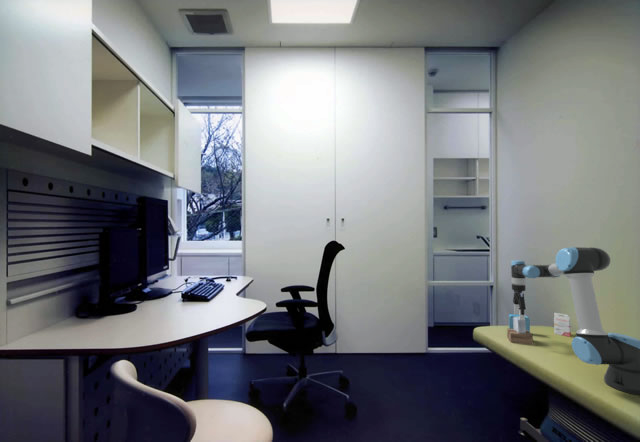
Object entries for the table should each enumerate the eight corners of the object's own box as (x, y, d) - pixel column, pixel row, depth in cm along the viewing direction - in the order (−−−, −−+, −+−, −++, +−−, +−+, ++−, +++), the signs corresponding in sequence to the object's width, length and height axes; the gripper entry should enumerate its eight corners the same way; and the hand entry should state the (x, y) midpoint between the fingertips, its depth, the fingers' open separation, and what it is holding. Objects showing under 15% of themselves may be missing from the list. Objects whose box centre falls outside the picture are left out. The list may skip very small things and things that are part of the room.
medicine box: (526, 333, 195) (525, 320, 195) (518, 333, 196) (517, 319, 196) (520, 329, 203) (520, 316, 203) (513, 329, 204) (513, 316, 204)
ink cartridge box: (571, 335, 209) (570, 313, 210) (569, 337, 206) (569, 315, 206) (555, 332, 216) (555, 311, 216) (554, 333, 212) (553, 312, 213)
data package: (529, 333, 214) (529, 316, 214) (530, 335, 210) (529, 317, 210) (509, 330, 220) (508, 313, 220) (509, 332, 216) (509, 315, 216)
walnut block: (532, 344, 192) (532, 335, 192) (510, 342, 196) (510, 333, 197) (528, 339, 202) (527, 330, 202) (507, 337, 206) (507, 328, 206)
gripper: (507, 281, 213) (508, 311, 212) (516, 287, 190) (517, 321, 189) (520, 281, 210) (520, 312, 210) (531, 287, 187) (532, 322, 186)
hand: (519, 317), depth 199 cm, fingers open, 13 cm apart
